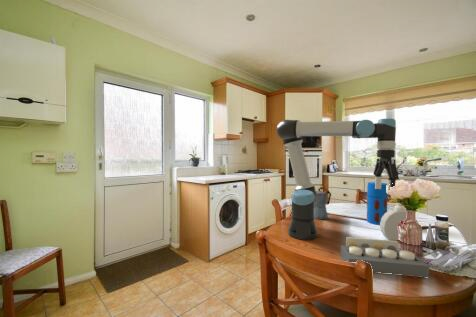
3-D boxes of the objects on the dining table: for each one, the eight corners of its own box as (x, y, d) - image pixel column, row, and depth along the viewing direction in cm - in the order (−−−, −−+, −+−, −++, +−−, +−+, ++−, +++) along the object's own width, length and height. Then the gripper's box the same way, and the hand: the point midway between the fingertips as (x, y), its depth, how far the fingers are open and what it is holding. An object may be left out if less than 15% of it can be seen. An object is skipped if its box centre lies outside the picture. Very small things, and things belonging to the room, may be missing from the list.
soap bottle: (413, 238, 113) (413, 199, 113) (419, 242, 108) (420, 202, 108) (379, 235, 116) (379, 198, 116) (383, 239, 111) (384, 200, 110)
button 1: (350, 258, 85) (351, 250, 85) (347, 253, 90) (347, 245, 89) (363, 259, 84) (363, 251, 84) (359, 254, 89) (359, 246, 89)
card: (346, 253, 95) (346, 238, 95) (345, 252, 96) (346, 237, 96) (398, 258, 91) (398, 241, 91) (396, 257, 92) (397, 240, 92)
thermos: (391, 224, 135) (391, 184, 135) (379, 226, 131) (379, 185, 131) (374, 219, 146) (375, 181, 145) (362, 220, 142) (363, 182, 141)
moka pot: (307, 216, 151) (307, 187, 151) (325, 214, 156) (325, 186, 156) (315, 220, 142) (316, 190, 142) (335, 218, 147) (335, 189, 146)
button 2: (367, 259, 84) (367, 252, 84) (363, 254, 88) (363, 247, 88) (381, 261, 83) (381, 253, 83) (376, 255, 87) (376, 248, 87)
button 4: (403, 263, 81) (403, 255, 81) (396, 257, 86) (396, 249, 86) (417, 264, 80) (417, 256, 80) (410, 258, 85) (410, 250, 85)
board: (348, 270, 82) (349, 258, 82) (340, 255, 94) (340, 245, 94) (428, 278, 77) (429, 266, 76) (409, 261, 88) (409, 251, 88)
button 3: (385, 261, 83) (385, 253, 83) (379, 255, 87) (380, 248, 87) (398, 262, 82) (399, 254, 82) (392, 257, 86) (392, 249, 86)
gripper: (409, 149, 98) (407, 196, 98) (381, 149, 122) (380, 187, 123) (390, 149, 99) (388, 195, 100) (367, 149, 124) (366, 186, 124)
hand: (384, 191), depth 111 cm, fingers open, 13 cm apart
